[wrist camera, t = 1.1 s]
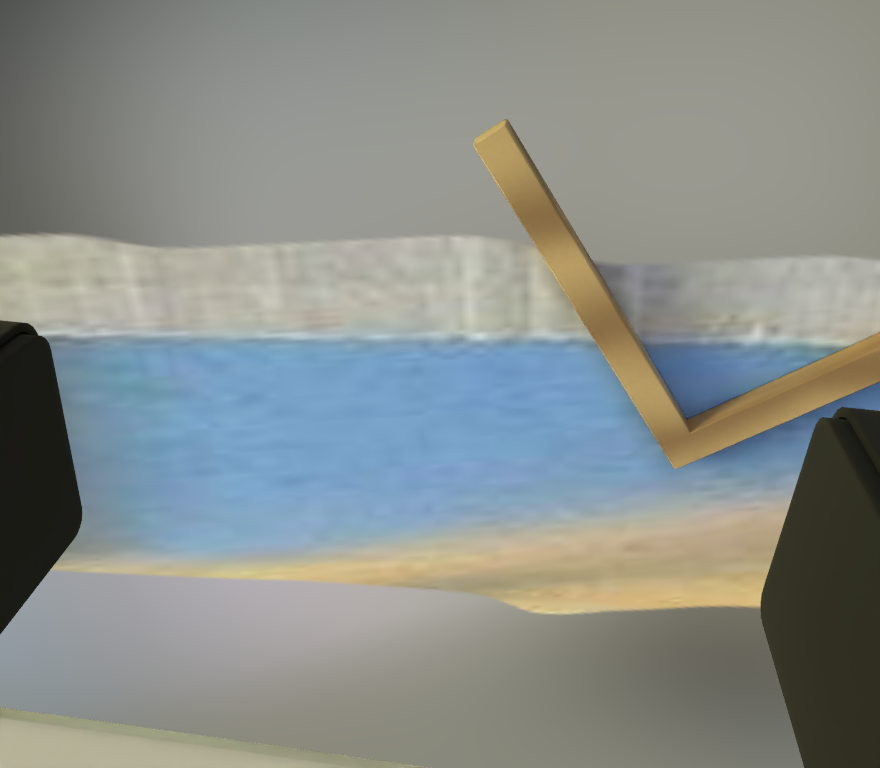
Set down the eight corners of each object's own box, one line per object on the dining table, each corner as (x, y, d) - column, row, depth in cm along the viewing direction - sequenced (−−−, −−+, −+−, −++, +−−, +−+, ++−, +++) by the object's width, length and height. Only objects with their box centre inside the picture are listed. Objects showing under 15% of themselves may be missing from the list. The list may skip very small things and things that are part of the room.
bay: (475, 138, 34) (472, 144, 33) (1178, -313, 25) (1205, -324, 24) (672, 455, 40) (674, 470, 39) (1298, 181, 31) (1324, 191, 30)
